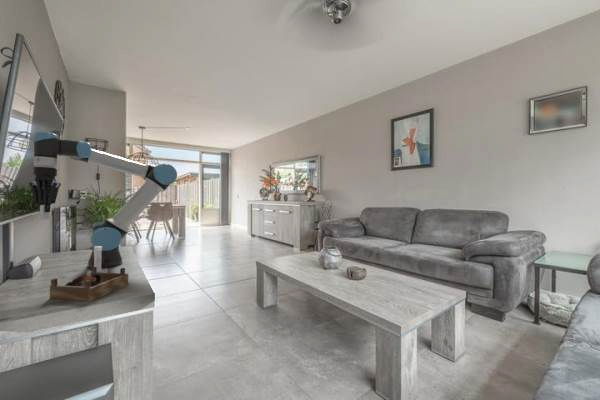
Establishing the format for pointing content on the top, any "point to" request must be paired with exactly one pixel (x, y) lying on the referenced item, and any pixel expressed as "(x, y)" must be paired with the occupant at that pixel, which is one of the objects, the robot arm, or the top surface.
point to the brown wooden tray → (89, 293)
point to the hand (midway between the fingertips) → (44, 219)
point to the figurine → (97, 260)
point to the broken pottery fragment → (84, 277)
